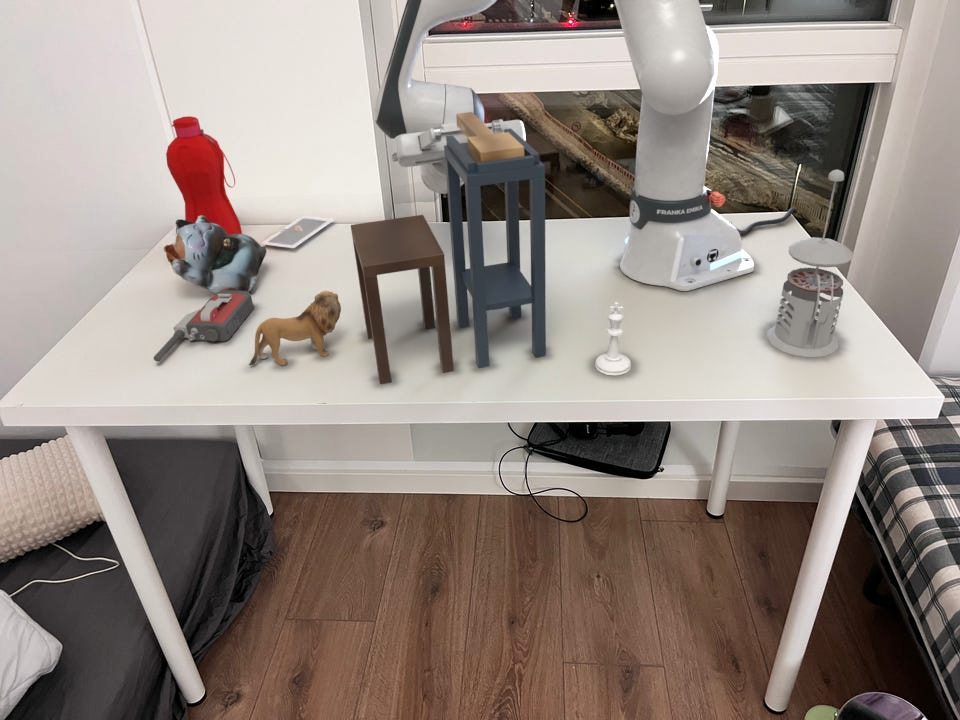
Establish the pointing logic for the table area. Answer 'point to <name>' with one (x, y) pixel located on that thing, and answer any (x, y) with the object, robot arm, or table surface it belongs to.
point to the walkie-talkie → (212, 320)
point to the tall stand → (506, 280)
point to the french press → (811, 295)
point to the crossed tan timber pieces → (487, 140)
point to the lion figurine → (300, 327)
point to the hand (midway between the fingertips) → (467, 129)
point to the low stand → (393, 252)
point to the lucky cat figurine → (214, 256)
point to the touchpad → (297, 231)
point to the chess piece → (613, 348)
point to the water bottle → (201, 175)
